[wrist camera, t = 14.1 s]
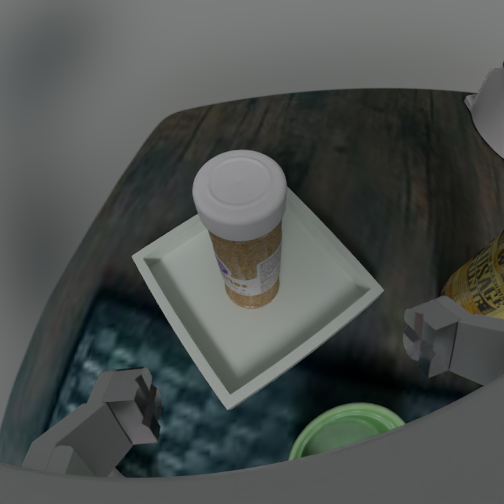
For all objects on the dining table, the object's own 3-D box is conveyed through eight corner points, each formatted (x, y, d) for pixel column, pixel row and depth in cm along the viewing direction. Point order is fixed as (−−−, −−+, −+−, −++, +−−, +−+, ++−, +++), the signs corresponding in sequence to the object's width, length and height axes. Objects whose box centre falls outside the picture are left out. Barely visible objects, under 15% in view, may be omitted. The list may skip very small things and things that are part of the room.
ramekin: (393, 397, 23) (414, 394, 19) (392, 496, 19) (412, 509, 15) (284, 406, 23) (287, 406, 19) (283, 509, 19) (285, 527, 15)
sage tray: (271, 186, 32) (271, 170, 30) (375, 300, 27) (384, 290, 24) (141, 268, 29) (131, 256, 27) (231, 409, 23) (227, 409, 21)
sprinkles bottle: (214, 287, 27) (171, 186, 15) (250, 249, 28) (236, 133, 16) (255, 322, 26) (241, 240, 14) (292, 281, 27) (307, 175, 15)
